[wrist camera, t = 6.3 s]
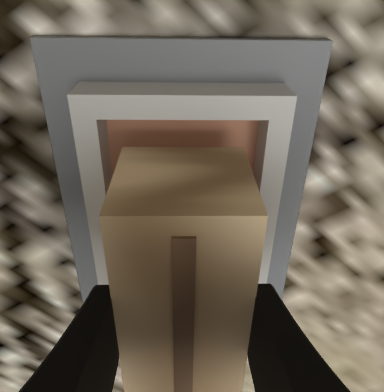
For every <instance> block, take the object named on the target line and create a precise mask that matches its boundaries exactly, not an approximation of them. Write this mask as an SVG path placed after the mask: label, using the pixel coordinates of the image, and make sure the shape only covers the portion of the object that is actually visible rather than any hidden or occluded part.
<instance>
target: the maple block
mask: <svg viewBox="0 0 384 392" xmlns="http://www.w3.org/2000/svg"><path fill="white" fill-rule="evenodd" d="M99 219H100V226H101V233H102V240H103V247H104V254H105V261H106V268H107V275H108V282H109V289H110V296H111V299H112V306H113V313H114V320H115V327H116V334H117V341H118V348H119V359H120V366H121V373H122V380H123V387H124V392H242V389H243V383H244V376H245V369H246V362H247V355H248V353H247V352H248V345H249V338H250V331H251V325H252V318H253V311H254V304H255V297H256V294H257V288H258V281H259V274H260V267H261V260H262V254H263V247H264V240H265V233H266V226H267V220H268V214H267V211H266V209H265V206H264V203H263V200H262V197H261V194H260V192H259V189H258V186H257V183H256V180H255V177H254V175H253V172H252V169H251V166H250V163H249V160H248V157H247V155H246V152H245V149H244V147H122V150H121V153H120V156H119V159H118V162H117V165H116V168H115V171H114V174H113V176H112V179H111V182H110V185H109V188H108V191H107V194H106V197H105V200H104V203H103V206H102V209H101V212H100V215H99Z"/></svg>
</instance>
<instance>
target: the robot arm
mask: <svg viewBox="0 0 384 392" xmlns="http://www.w3.org/2000/svg"><path fill="white" fill-rule="evenodd" d="M247 353H248V361H249V366H250V370H251V375H252V379H253V383H254V388H255V392H350V391H349V389H348V388H347V387H346V386H345V385H344V384H343V383H342V381H341V380H340V379H339V378H338V377H337V375H336V374H335V373H334V372H333V371H332V369H331V368H330V367H329V366H328V364H327V363H326V362H325V361H324V359H323V358H322V357H321V356H320V354H319V353H318V352H317V350H316V349H315V348H314V346H313V345H312V344H311V342H310V341H309V340H308V338H307V337H306V335H305V334H304V333H303V331H302V330H301V329H300V327H299V326H298V324H297V323H296V321H295V320H294V318H293V317H292V315H291V314H290V312H289V311H288V309H287V308H286V306H285V305H284V303H283V301H282V300H281V298H280V297H279V295H278V293H277V292H276V290H275V288H274V286H273V285H271V284H270V283H269V284H258V288H257V294H256V297H255V304H254V311H253V318H252V325H251V331H250V338H249V345H248V352H247ZM118 361H119V348H118V341H117V334H116V327H115V320H114V313H113V306H112V299H111V296H110V289H109V285H95V286H94V287H93V288H92V290H91V291H90V293H89V295H88V297H87V298H86V300H85V302H84V303H83V305H82V307H81V308H80V310H79V311H78V313H77V314H76V316H75V317H74V319H73V320H72V322H71V324H70V325H69V326H68V328H67V329H66V331H65V332H64V334H63V335H62V336H61V338H60V339H59V341H58V342H57V344H56V345H55V346H54V348H53V349H52V350H51V352H50V353H49V354H48V356H47V357H46V358H45V359H44V361H43V362H42V363H41V365H40V366H39V367H38V369H37V370H36V371H35V372H34V374H33V375H32V376H31V377H30V379H29V380H28V381H27V382H26V383H25V385H24V386H23V387H22V388H21V389H20V391H19V392H112V389H113V385H114V380H115V376H116V371H117V366H118Z"/></svg>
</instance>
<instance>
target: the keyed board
mask: <svg viewBox="0 0 384 392" xmlns="http://www.w3.org/2000/svg"><path fill="white" fill-rule="evenodd" d="M30 41H31V46H32V51H33V56H34V61H35V66H36V71H37V76H38V81H39V86H40V91H41V96H42V101H43V106H44V111H45V116H46V121H47V126H48V131H49V136H50V141H51V146H52V151H53V156H54V161H55V166H56V171H57V176H58V181H59V186H60V191H61V196H62V201H63V206H64V211H65V216H66V221H67V226H68V230H69V235H70V240H71V245H72V250H73V255H74V260H75V265H76V270H77V275H78V280H79V285H80V290H81V295H82V300H83V303H84V302H85V300H86V298H87V297H88V295H89V293H90V291H91V290H92V288H93V287H94V286H95V285H109V282H108V275H107V268H106V261H105V254H104V247H103V240H102V233H101V226H100V219H99V215H100V212H101V209H102V206H103V203H104V200H105V197H106V194H107V191H108V188H109V185H110V182H111V179H112V176H113V174H114V171H115V168H116V165H117V162H118V159H119V156H120V153H121V150H122V147H244V149H245V152H246V155H247V157H248V160H249V163H250V166H251V169H252V172H253V175H254V177H255V180H256V183H257V186H258V189H259V192H260V194H261V197H262V200H263V203H264V206H265V209H266V211H267V214H268V220H267V226H266V233H265V240H264V247H263V254H262V260H261V267H260V274H259V281H258V284H269V283H270V284H271V285H273V286H274V288H275V290H276V292H277V293H278V295H279V297H280V298H281V299H282V294H283V289H284V284H285V279H286V274H287V269H288V264H289V259H290V254H291V249H292V244H293V239H294V234H295V229H296V224H297V219H298V214H299V209H300V204H301V199H302V194H303V189H304V184H305V178H306V173H307V168H308V163H309V158H310V153H311V148H312V143H313V138H314V133H315V128H316V123H317V118H318V113H319V108H320V103H321V98H322V93H323V88H324V83H325V78H326V73H327V68H328V63H329V58H330V53H331V48H332V43H333V41H332V40H330V39H289V38H197V37H105V36H32V37H30Z"/></svg>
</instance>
